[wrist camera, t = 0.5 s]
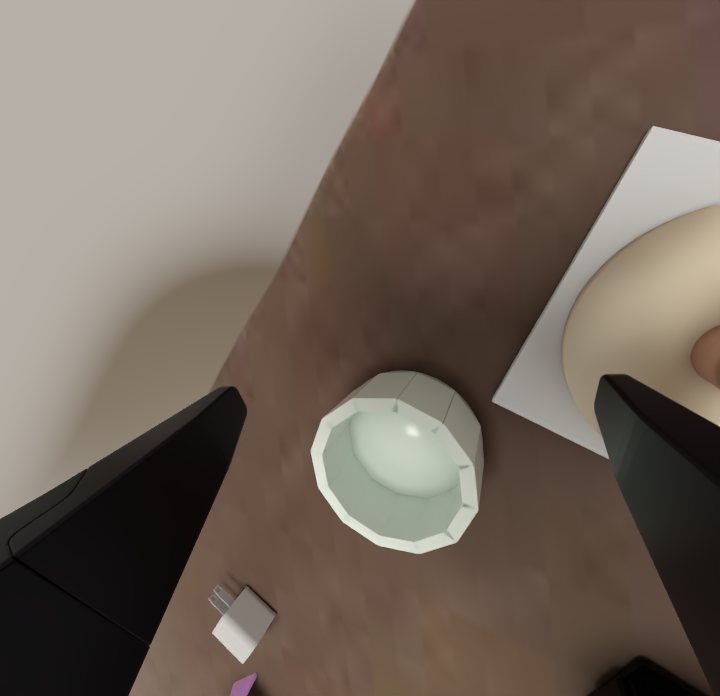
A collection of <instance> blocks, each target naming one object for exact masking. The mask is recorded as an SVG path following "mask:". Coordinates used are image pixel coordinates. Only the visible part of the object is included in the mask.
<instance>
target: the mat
mask: <svg viewBox="0 0 720 696" xmlns="http://www.w3.org/2000/svg"><path fill="white" fill-rule="evenodd" d="M719 204H720V142H719V141H714V140H710V139H706V138H702V137H697V136H693V135H689V134H685V133H681V132H676V131H672V130H668V129H664V128H659V127H655V126H653V127H651V128H650V129H649V130H648V132H647V133H646V135H645V137H644V138H643V140H642V142H641V144H640V145H639V147H638V149H637V150H636V152H635V154H634V156H633V157H632V159H631V161H630V162H629V164H628V166H627V168H626V169H625V171H624V173H623V174H622V176H621V178H620V180H619V181H618V183H617V185H616V186H615V188H614V190H613V192H612V193H611V195H610V197H609V198H608V200H607V202H606V204H605V205H604V207H603V209H602V210H601V212H600V214H599V216H598V217H597V219H596V221H595V222H594V224H593V226H592V228H591V229H590V231H589V233H588V234H587V236H586V238H585V240H584V241H583V243H582V245H581V246H580V248H579V250H578V252H577V253H576V255H575V257H574V259H573V260H572V262H571V264H570V265H569V267H568V269H567V271H566V272H565V274H564V276H563V277H562V279H561V281H560V283H559V284H558V286H557V288H556V289H555V291H554V293H553V295H552V296H551V298H550V300H549V301H548V303H547V305H546V307H545V308H544V310H543V312H542V313H541V315H540V317H539V319H538V320H537V322H536V324H535V325H534V327H533V329H532V331H531V332H530V334H529V336H528V337H527V339H526V341H525V343H524V344H523V346H522V348H521V349H520V351H519V353H518V355H517V356H516V358H515V360H514V361H513V363H512V365H511V367H510V368H509V370H508V372H507V373H506V375H505V377H504V379H503V380H502V382H501V384H500V385H499V387H498V389H497V391H496V392H495V394H494V396H493V397H492V402H494V403H496V404H498V405H500V406H502V407H504V408H506V409H508V410H510V411H512V412H514V413H516V414H518V415H520V416H522V417H524V418H526V419H528V420H530V421H532V422H534V423H536V424H539V425H541V426H543V427H545V428H547V429H549V430H551V431H553V432H555V433H557V434H559V435H561V436H563V437H565V438H567V439H569V440H571V441H573V442H575V443H577V444H579V445H581V446H583V447H585V448H587V449H589V450H591V451H593V452H595V453H597V454H600V455H602V456H604V457H606V458H608V459H609V457H608V454H607V450H606V447H605V444H604V441H603V438H602V436H601V435H600V434H598V433H597V432H596V431H595V430H594V428H593V427H592V426H591V425H590V424H589V423H588V422H587V420H586V419H585V418H584V416H583V415H582V413H581V412H580V410H579V409H578V407H577V405H576V403H575V401H574V399H573V397H572V395H571V392H570V390H569V388H568V386H567V383H566V379H565V375H564V372H563V365H562V357H561V353H562V338H563V333H564V328H565V324H566V321H567V318H568V316H569V313H570V310H571V308H572V306H573V304H574V302H575V300H576V299H577V297H578V295H579V293H580V292H581V290H582V289H583V288H584V286H585V285H586V283H587V282H588V280H589V279H590V278H591V277H592V276H593V275H594V274H595V272H596V271H597V270H598V269H599V268H600V267H601V266H602V265H603V264H604V263H605V262H606V261H607V260H608V259H610V258H611V257H612V256H613V255H614V254H615V253H616V252H618V251H619V250H620V249H622V248H623V247H624V246H626V245H627V244H629V243H630V242H632V241H633V240H634V239H636V238H637V237H639V236H641V235H643V234H644V233H646V232H648V231H650V230H651V229H653V228H655V227H657V226H659V225H661V224H663V223H666V222H668V221H670V220H672V219H675V218H677V217H679V216H682V215H685V214H688V213H691V212H694V211H697V210H700V209H703V208H706V207H710V206H715V205H719Z"/></svg>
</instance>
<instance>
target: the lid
mask: <svg viewBox="0 0 720 696" xmlns="http://www.w3.org/2000/svg"><path fill="white" fill-rule="evenodd" d="M561 357H562V365H563V372H564V375H565V379H566V383H567V386H568V388H569V390H570V392H571V395H572V397H573V399H574V401H575V403H576V405H577V407H578V409H579V410H580V412H581V413H582V415H583V416H584V418H585V419H586V420H587V422H588V423H589V424H590V425H591V426H592V427H593V428H594V430H595V431H596V432H597V433H598V434H600V435H601V436H602V434H601V431H600V428H599V425H598V422H597V419H596V415H595V411H594V401H595V397H596V393H597V388H598V384H599V380H600V378H601V376H602V375H604V374H627V375H629V376H631V377H633V378H635V379H636V380H638V381H640V382H642V383H643V384H645V385H647V386H649V387H651V388H652V389H654V390H656V391H658V392H659V393H661V394H663V395H665V396H667V397H668V398H670V399H672V400H674V401H675V402H677V403H679V404H681V405H683V406H684V407H686V408H688V409H690V410H691V411H693V412H695V413H697V414H698V415H700V416H702V417H704V418H706V419H707V420H709V421H711V422H713V423H714V424H716V425H718V426H720V204H719V205H715V206H710V207H706V208H703V209H700V210H697V211H694V212H691V213H688V214H685V215H682V216H679V217H677V218H675V219H672V220H670V221H668V222H666V223H663V224H661V225H659V226H657V227H655V228H653V229H651V230H650V231H648V232H646V233H644V234H643V235H641V236H639V237H637V238H636V239H634V240H633V241H632V242H630V243H629V244H627V245H626V246H624V247H623V248H622V249H620V250H619V251H618V252H616V253H615V254H614V255H613V256H612V257H611V258H610V259H608V260H607V261H606V262H605V263H604V264H603V265H602V266H601V267H600V268H599V269H598V270H597V271H596V272H595V274H594V275H593V276H592V277H591V278H590V279H589V280H588V282H587V283H586V285H585V286H584V288H583V289H582V290H581V292H580V293H579V295H578V297H577V299H576V300H575V302H574V304H573V306H572V308H571V310H570V313H569V316H568V318H567V321H566V324H565V328H564V333H563V338H562V353H561Z"/></svg>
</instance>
